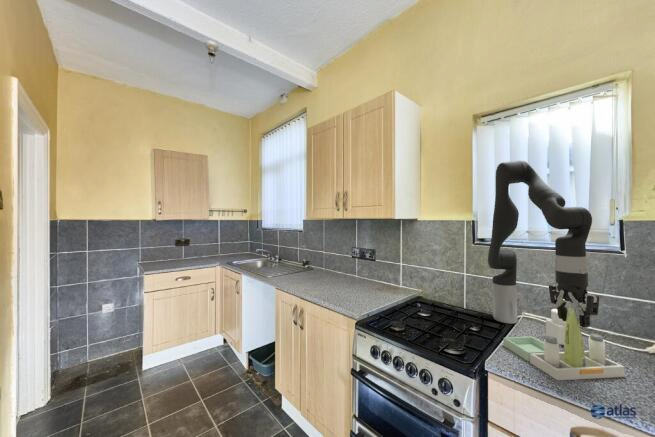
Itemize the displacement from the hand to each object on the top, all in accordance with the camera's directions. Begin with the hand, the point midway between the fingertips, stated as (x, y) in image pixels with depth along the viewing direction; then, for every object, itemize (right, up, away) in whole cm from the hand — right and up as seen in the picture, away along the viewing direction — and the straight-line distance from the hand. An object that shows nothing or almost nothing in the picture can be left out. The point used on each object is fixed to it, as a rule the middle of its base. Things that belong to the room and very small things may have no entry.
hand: (573, 322), depth 81 cm
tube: (0, -15, 0) cm, 15 cm away
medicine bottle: (+14, -15, +18) cm, 27 cm away
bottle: (-7, -15, -1) cm, 17 cm away
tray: (-5, -15, +11) cm, 19 cm away
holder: (0, -15, 0) cm, 15 cm away
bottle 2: (+8, -15, 0) cm, 17 cm away
